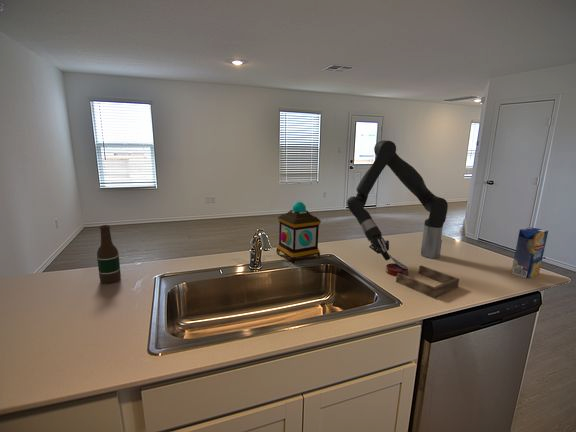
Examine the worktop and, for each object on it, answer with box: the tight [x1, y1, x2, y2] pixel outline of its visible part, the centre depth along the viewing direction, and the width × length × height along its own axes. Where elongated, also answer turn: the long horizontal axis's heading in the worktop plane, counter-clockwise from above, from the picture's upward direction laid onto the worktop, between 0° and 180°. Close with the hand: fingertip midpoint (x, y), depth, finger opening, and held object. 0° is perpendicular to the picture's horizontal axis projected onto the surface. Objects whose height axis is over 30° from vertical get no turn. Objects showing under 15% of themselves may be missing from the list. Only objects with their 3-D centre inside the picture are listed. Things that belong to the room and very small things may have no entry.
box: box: [395, 265, 460, 299], centre depth 131 cm, size 18×18×4 cm
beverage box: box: [510, 227, 549, 279], centre depth 144 cm, size 7×11×22 cm, turn 118°
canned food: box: [385, 254, 409, 277], centre depth 143 cm, size 11×10×10 cm
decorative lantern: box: [275, 201, 322, 264], centre depth 160 cm, size 20×20×30 cm
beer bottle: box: [96, 224, 122, 285], centre depth 126 cm, size 8×8×24 cm
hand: (388, 259), depth 147 cm, fingers closed
